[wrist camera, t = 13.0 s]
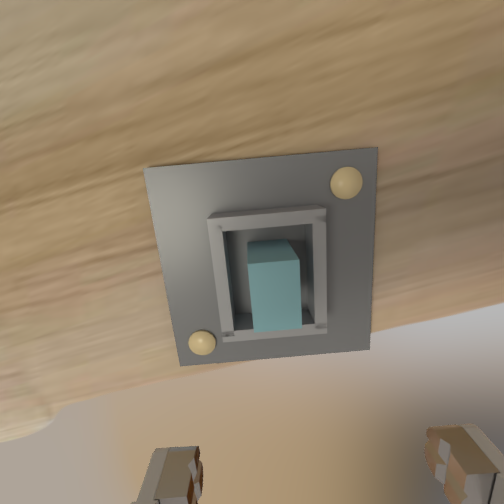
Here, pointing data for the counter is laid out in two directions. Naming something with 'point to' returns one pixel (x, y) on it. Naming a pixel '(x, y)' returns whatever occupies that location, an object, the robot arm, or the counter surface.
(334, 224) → the housing
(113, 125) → the counter surface
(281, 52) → the counter surface
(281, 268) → the block
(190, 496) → the robot arm
